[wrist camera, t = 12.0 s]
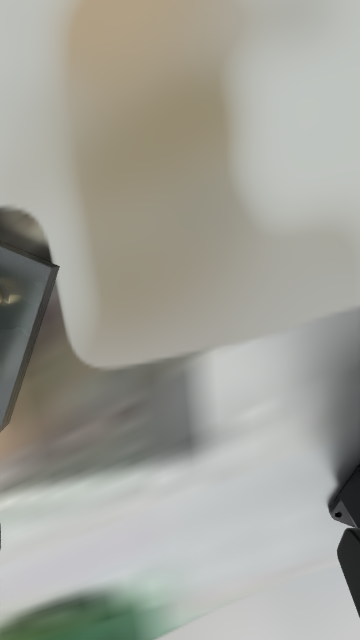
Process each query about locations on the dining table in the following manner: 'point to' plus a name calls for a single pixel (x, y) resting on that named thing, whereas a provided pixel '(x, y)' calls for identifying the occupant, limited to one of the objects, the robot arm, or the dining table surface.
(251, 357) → the dining table surface
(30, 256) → the plate
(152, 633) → the dining table surface
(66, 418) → the dining table surface
